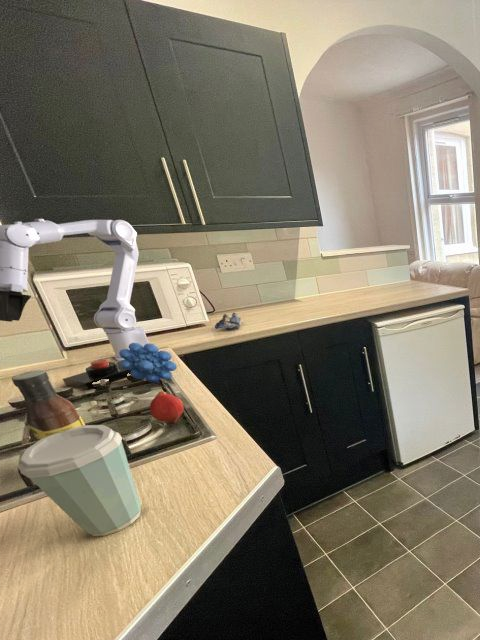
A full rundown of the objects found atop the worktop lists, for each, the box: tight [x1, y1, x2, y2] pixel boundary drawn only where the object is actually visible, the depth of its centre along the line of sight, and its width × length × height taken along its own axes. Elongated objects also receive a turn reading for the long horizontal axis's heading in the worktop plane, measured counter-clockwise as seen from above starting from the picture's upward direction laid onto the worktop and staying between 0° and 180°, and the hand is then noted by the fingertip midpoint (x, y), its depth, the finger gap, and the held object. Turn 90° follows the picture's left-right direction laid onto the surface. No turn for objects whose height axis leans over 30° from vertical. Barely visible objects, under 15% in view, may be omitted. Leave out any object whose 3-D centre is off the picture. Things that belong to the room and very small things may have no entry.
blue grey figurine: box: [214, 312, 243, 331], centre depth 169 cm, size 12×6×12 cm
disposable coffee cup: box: [17, 424, 142, 538], centre depth 62 cm, size 11×11×15 cm
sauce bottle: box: [11, 369, 86, 442], centre depth 75 cm, size 7×6×20 cm
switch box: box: [62, 361, 131, 391], centre depth 122 cm, size 14×11×4 cm
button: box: [90, 359, 109, 369], centre depth 121 cm, size 4×4×2 cm
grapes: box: [119, 343, 178, 384], centre depth 115 cm, size 12×7×12 cm, turn 118°
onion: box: [149, 390, 185, 424], centre depth 93 cm, size 6×6×8 cm
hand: (9, 320), depth 112 cm, fingers open, 7 cm apart
